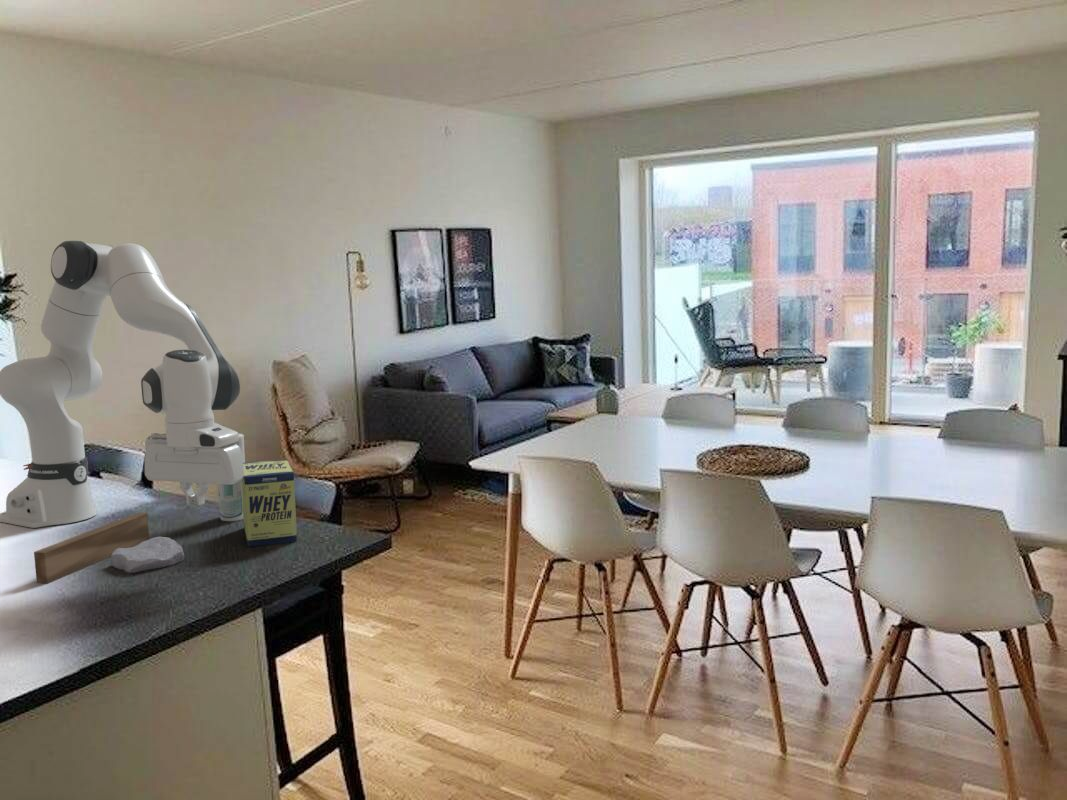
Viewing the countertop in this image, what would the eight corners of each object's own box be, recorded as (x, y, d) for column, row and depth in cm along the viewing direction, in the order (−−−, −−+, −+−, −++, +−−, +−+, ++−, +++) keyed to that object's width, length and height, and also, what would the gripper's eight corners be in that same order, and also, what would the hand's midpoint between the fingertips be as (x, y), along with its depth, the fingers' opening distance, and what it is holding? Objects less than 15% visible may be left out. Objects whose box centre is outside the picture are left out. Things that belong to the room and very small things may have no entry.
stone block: (190, 569, 176) (164, 550, 182) (190, 547, 175) (164, 529, 180) (133, 587, 167) (108, 567, 173) (133, 565, 166) (107, 546, 171)
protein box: (247, 547, 184) (243, 476, 181) (243, 528, 198) (239, 462, 196) (298, 541, 187) (294, 472, 185) (289, 523, 202) (286, 458, 199)
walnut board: (36, 582, 163) (33, 551, 162) (139, 538, 190) (137, 512, 189) (47, 583, 162) (44, 553, 162) (149, 539, 189) (147, 513, 188)
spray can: (215, 521, 203) (210, 438, 200) (225, 513, 210) (221, 433, 207) (242, 521, 203) (237, 438, 200) (252, 513, 209) (247, 433, 207)
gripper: (134, 435, 166) (139, 505, 168) (226, 439, 161) (231, 511, 163) (156, 430, 172) (161, 497, 174) (246, 433, 167) (250, 502, 169)
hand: (196, 504), depth 168 cm, fingers closed
